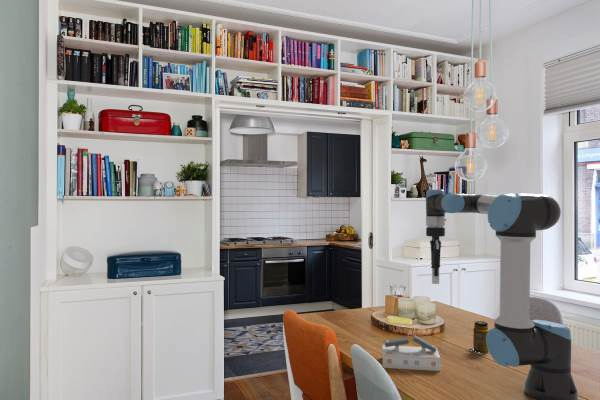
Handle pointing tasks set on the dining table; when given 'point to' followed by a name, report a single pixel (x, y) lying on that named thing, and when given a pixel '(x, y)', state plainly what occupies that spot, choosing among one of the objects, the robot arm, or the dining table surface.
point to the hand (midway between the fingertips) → (435, 283)
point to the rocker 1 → (396, 342)
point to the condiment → (480, 338)
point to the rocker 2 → (424, 343)
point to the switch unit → (411, 358)
